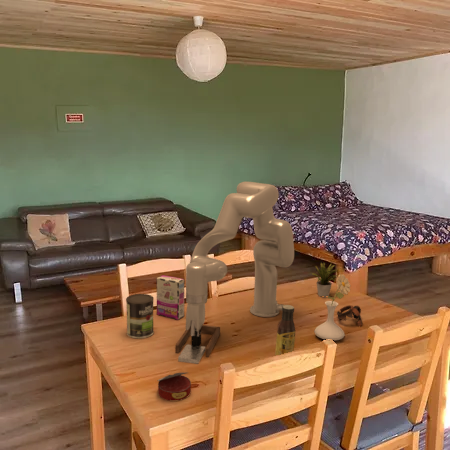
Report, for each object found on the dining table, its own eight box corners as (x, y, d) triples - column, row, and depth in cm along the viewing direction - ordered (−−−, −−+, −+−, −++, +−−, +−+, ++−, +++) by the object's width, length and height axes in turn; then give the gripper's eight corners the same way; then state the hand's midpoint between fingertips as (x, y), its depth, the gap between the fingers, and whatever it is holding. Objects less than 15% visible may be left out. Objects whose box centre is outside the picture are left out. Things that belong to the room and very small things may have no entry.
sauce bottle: (281, 367, 161) (284, 311, 157) (271, 359, 166) (273, 305, 162) (297, 363, 164) (300, 308, 160) (286, 355, 169) (289, 302, 165)
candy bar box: (185, 316, 201) (185, 278, 198) (178, 320, 197) (178, 282, 193) (163, 310, 206) (162, 274, 203) (156, 314, 202) (155, 277, 198)
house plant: (331, 304, 218) (334, 269, 215) (303, 297, 226) (305, 264, 222) (342, 295, 230) (345, 262, 227) (315, 289, 237) (317, 257, 234)
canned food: (161, 412, 143) (144, 385, 141) (171, 391, 152) (156, 365, 150) (193, 402, 139) (176, 374, 137) (201, 381, 148) (186, 354, 146)
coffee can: (159, 332, 185) (159, 298, 182) (137, 341, 177) (137, 305, 174) (142, 325, 192) (142, 291, 189) (121, 332, 184) (120, 298, 181)
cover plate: (205, 351, 172) (205, 346, 171) (198, 365, 162) (198, 359, 162) (186, 349, 173) (186, 344, 173) (178, 362, 164) (178, 357, 163)
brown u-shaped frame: (220, 334, 185) (220, 326, 184) (208, 357, 167) (208, 349, 166) (190, 330, 187) (190, 323, 187) (175, 353, 169) (175, 345, 168)
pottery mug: (358, 331, 192) (349, 313, 191) (339, 333, 199) (330, 316, 198) (370, 315, 200) (361, 298, 199) (352, 318, 207) (343, 302, 206)
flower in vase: (325, 345, 177) (330, 281, 172) (308, 333, 188) (312, 272, 182) (354, 340, 183) (359, 277, 177) (335, 328, 193) (340, 268, 187)
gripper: (192, 289, 177) (191, 335, 181) (180, 303, 163) (180, 353, 167) (211, 291, 176) (211, 337, 180) (201, 306, 161) (201, 356, 165)
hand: (196, 345), depth 173 cm, fingers closed
